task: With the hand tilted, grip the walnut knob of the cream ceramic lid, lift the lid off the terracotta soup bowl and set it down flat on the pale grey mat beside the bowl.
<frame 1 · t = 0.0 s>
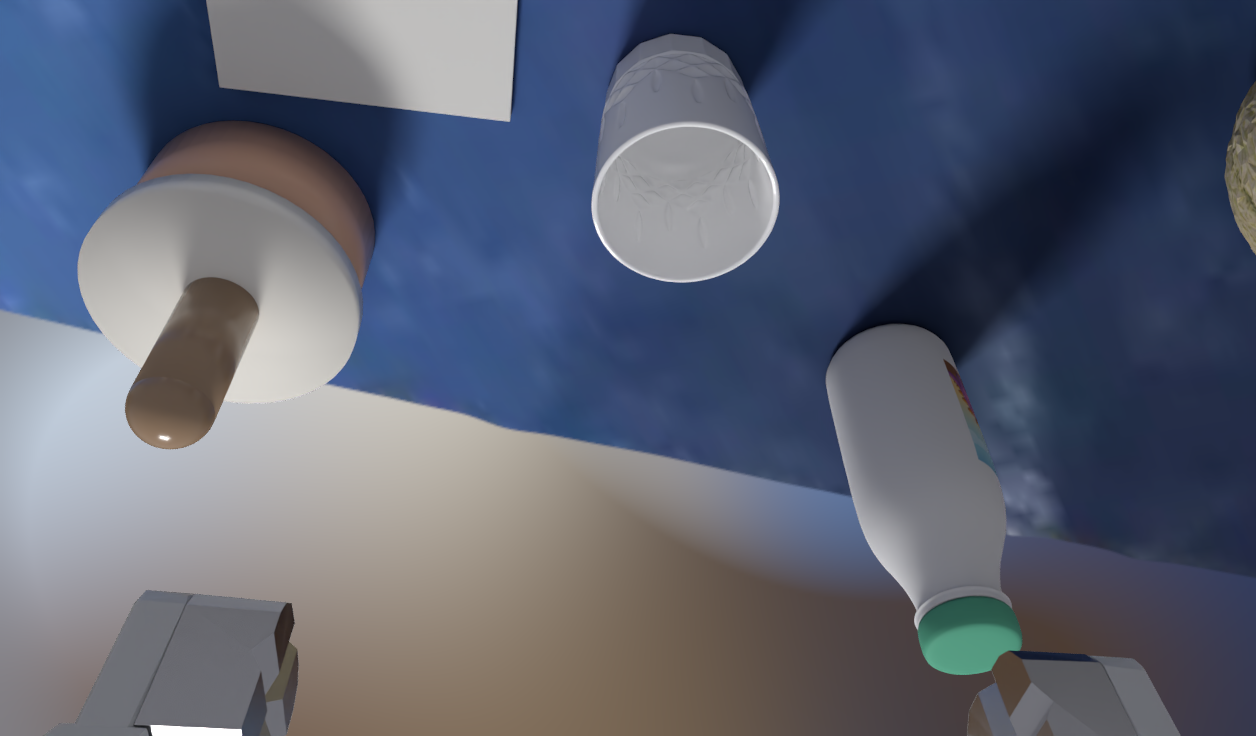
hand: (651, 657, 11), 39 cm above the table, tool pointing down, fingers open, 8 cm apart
milk bottle: (885, 365, 61), on the table
white cup: (674, 96, 49), on the table
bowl: (262, 221, 53), on the table
lid: (230, 288, 48), point 6 cm above the table, touching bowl
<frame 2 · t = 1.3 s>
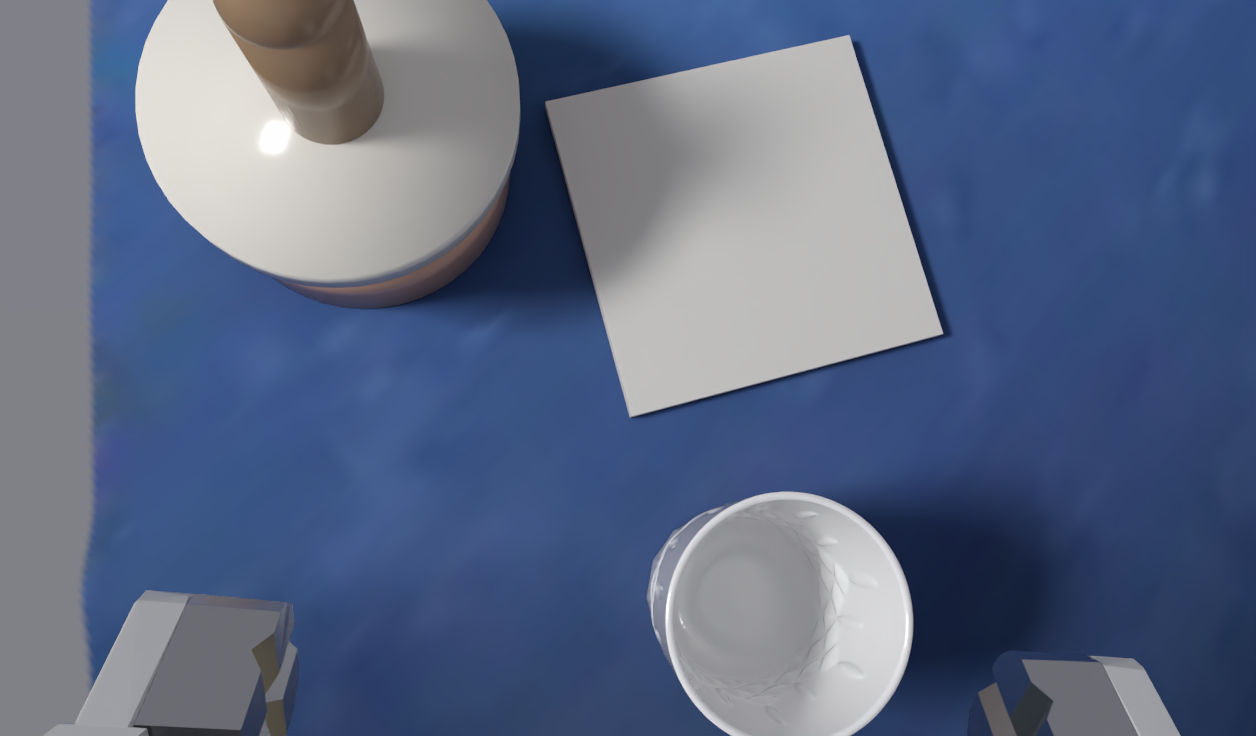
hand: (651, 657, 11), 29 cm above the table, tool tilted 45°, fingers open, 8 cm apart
mat: (741, 222, 42), on the table
white cup: (726, 592, 40), on the table
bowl: (367, 169, 41), on the table
lid: (339, 112, 35), point 6 cm above the table, touching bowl
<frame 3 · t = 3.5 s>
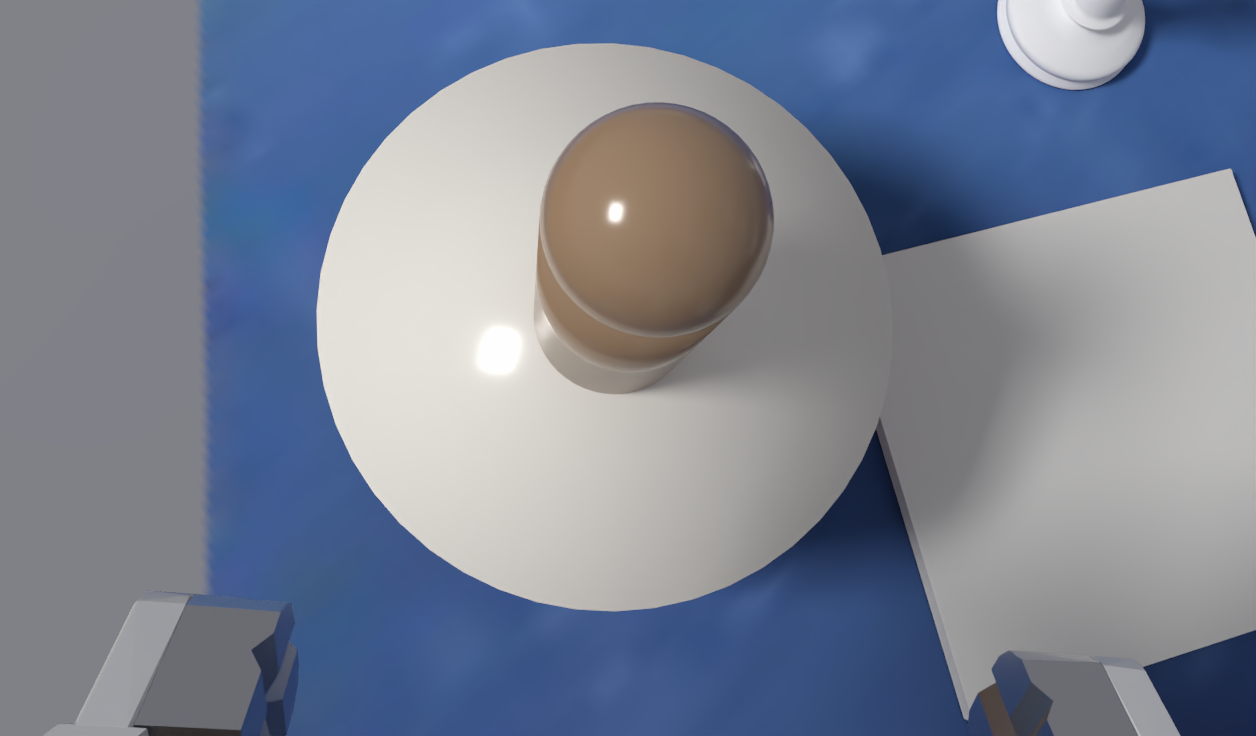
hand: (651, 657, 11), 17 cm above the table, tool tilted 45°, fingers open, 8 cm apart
mat: (1098, 430, 31), on the table
chess piece: (1062, 24, 33), on the table
lid: (608, 327, 23), point 6 cm above the table, touching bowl
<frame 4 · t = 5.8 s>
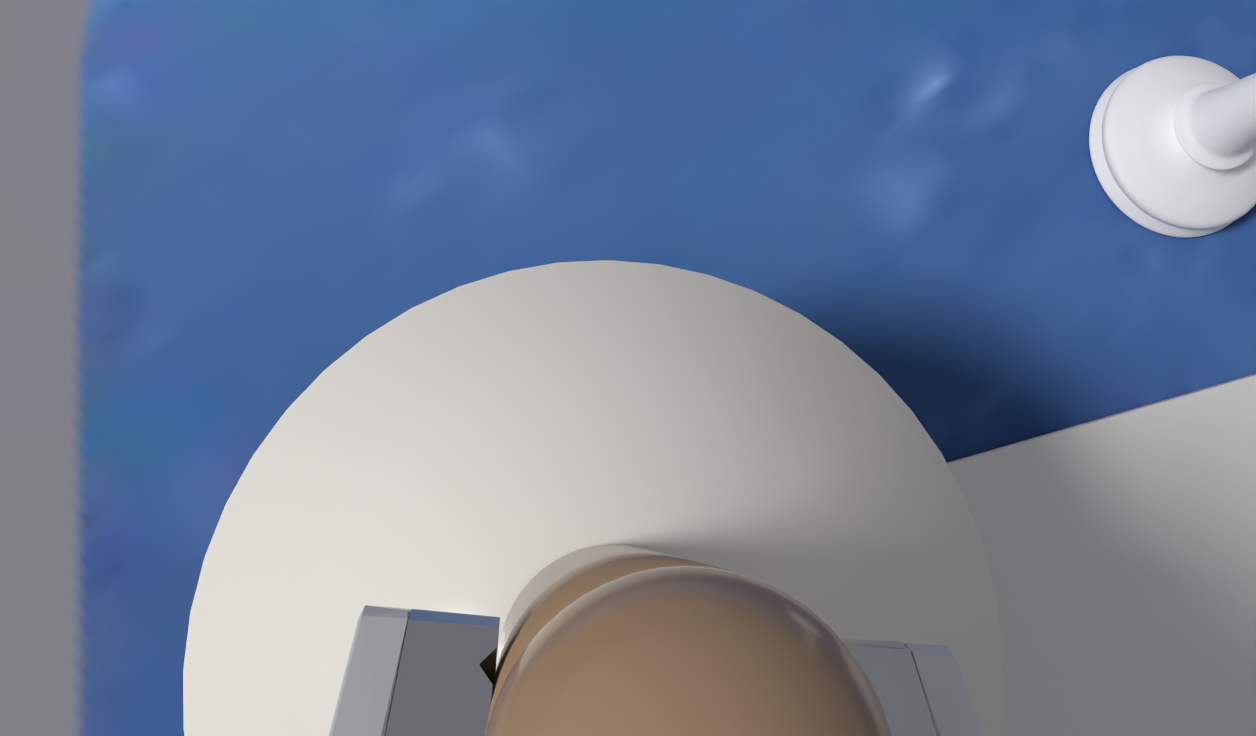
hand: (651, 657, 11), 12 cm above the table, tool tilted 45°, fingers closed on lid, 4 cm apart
mat: (1225, 679, 24), on the table
chess piece: (1169, 152, 27), on the table
lid: (604, 647, 17), point 6 cm above the table, touching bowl, gripper
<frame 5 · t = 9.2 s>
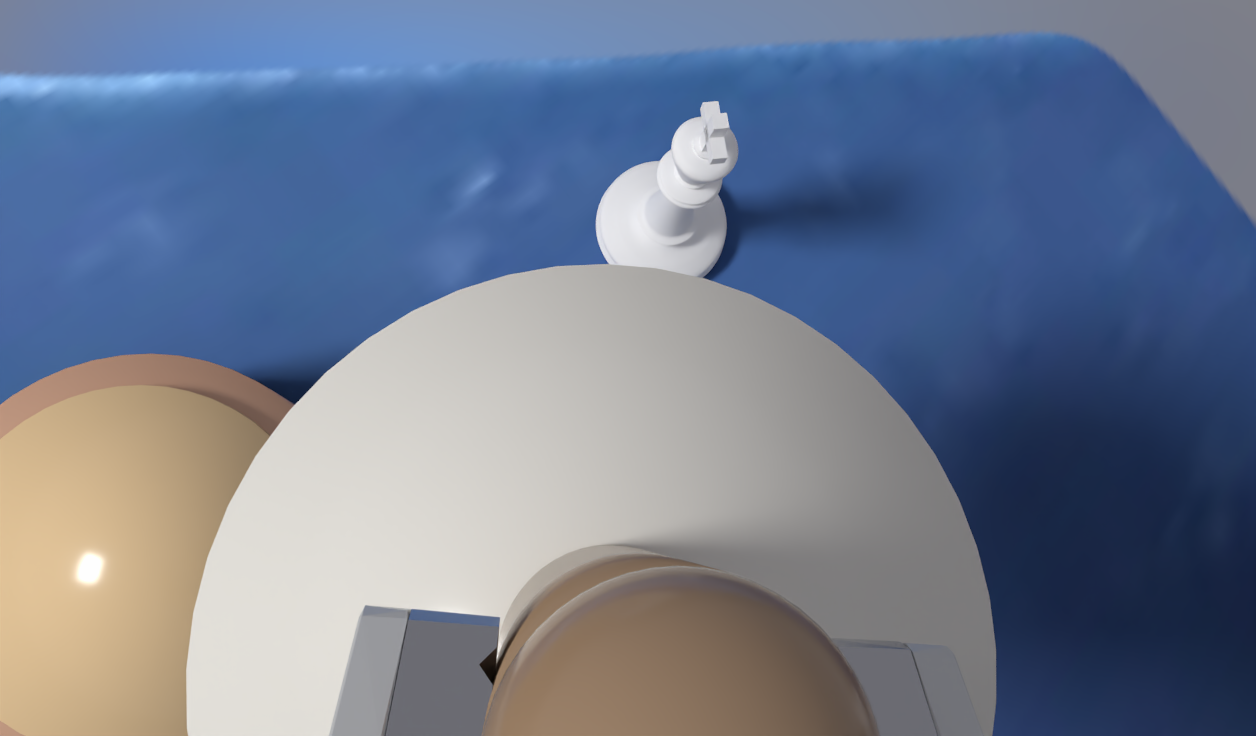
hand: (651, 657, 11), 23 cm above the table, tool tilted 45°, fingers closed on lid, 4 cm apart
chess piece: (659, 229, 37), on the table
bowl: (195, 557, 33), on the table
lid: (601, 646, 17), point 17 cm above the table, touching gripper
when the fingers open (8 cm above the table, at t = 12.6 s): lid drops 1 cm, resting on mat.
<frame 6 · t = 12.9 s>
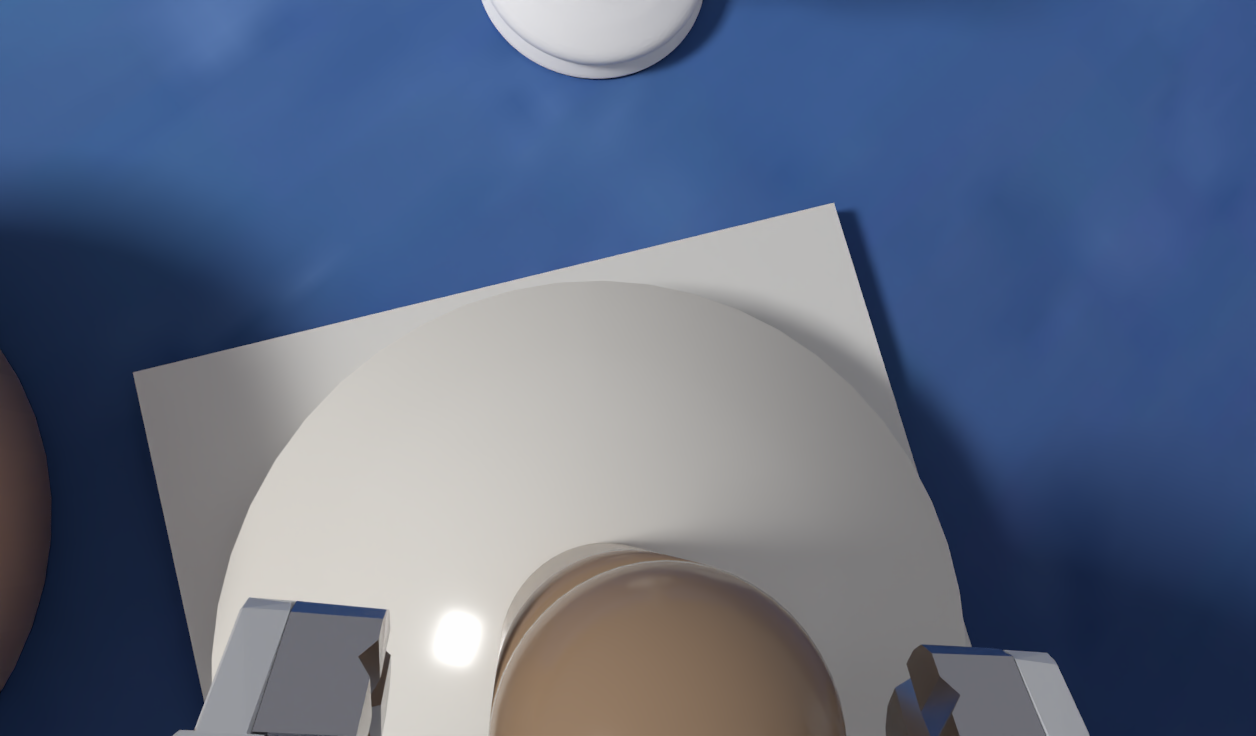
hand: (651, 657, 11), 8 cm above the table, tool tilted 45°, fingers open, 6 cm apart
mat: (593, 633, 19), on the table
lid: (597, 638, 18), point 1 cm above the table, touching mat
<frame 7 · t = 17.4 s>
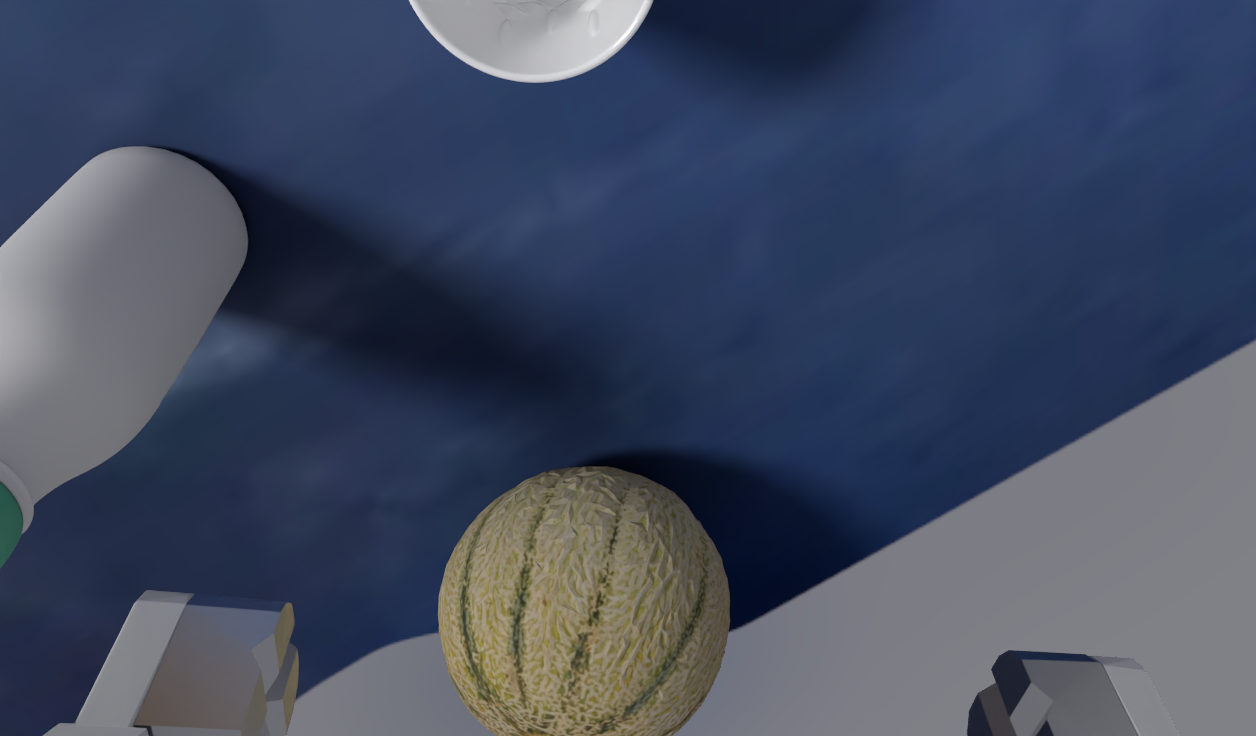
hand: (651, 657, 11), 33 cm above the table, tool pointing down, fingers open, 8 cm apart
milk bottle: (166, 218, 45), on the table
cantaloupe: (587, 507, 56), on the table
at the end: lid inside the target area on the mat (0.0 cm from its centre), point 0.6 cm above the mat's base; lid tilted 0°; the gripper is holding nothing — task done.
